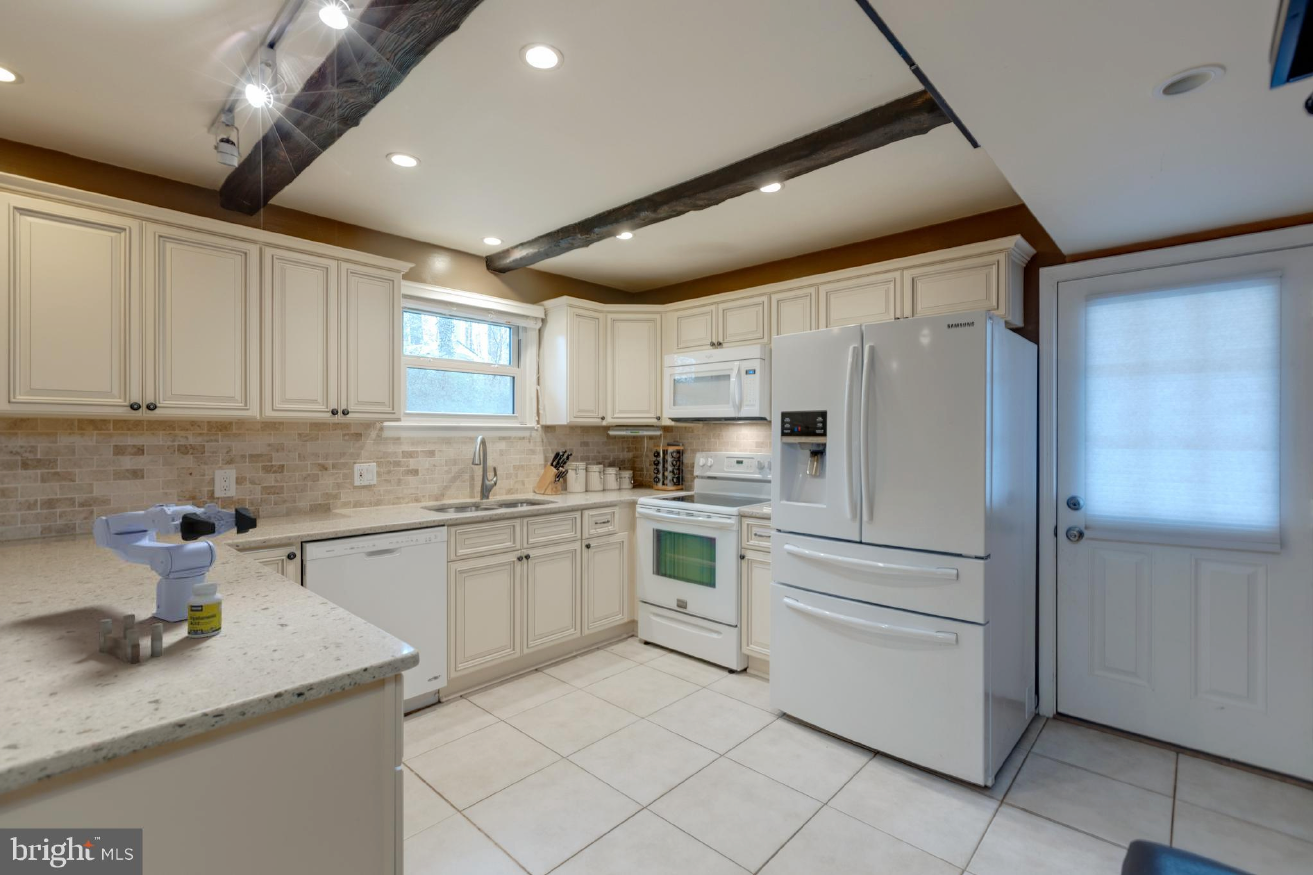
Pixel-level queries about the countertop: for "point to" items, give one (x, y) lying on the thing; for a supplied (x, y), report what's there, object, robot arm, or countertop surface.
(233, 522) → the robot arm
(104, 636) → the pin seat
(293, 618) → the countertop surface
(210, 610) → the supplement bottle
